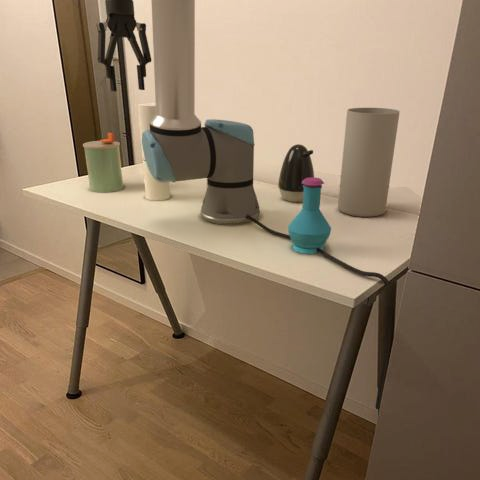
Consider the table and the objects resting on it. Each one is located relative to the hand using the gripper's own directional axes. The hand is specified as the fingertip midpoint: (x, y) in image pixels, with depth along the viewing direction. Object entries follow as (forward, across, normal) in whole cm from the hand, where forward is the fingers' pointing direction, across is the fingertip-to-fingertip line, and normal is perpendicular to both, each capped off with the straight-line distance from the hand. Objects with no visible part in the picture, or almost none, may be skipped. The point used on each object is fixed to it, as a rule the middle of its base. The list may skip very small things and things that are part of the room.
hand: (128, 90), depth 148 cm
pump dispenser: (+27, -31, +42) cm, 59 cm away
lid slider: (+14, +8, 0) cm, 16 cm away
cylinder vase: (+27, -39, +60) cm, 77 cm away
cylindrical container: (+27, +1, +18) cm, 33 cm away
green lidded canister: (+27, +10, 0) cm, 29 cm away
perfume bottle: (+27, -9, +74) cm, 79 cm away
